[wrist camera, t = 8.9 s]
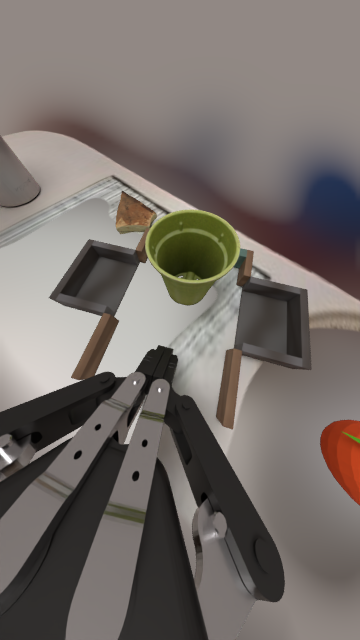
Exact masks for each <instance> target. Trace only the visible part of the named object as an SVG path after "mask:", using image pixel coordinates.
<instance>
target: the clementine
mask: <svg viewBox="0 0 360 640" xmlns="http://www.w3.org/2000/svg"><path fill="white" fill-rule="evenodd" d="M320 445H321V450H322V454H323V457H324V459H325V462H326V464H327V466H328V468H329V470H330V471H331V473H332V475H333V476H334V478H335V479H336V480H337V482H338V483H339V484H340V485H341V487H342V488H343V489H344V490H345V491H346V492H347V493H348V495H349V496H350V497H351V498H352V499H353V500H354V501H355V502H356V503H357V504H359V505H360V421H354V420H340V421H336V422H333V423H331V424H330V425H328V426H327V427H325V429H324V430H323V432H322V435H321V439H320Z"/></svg>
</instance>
